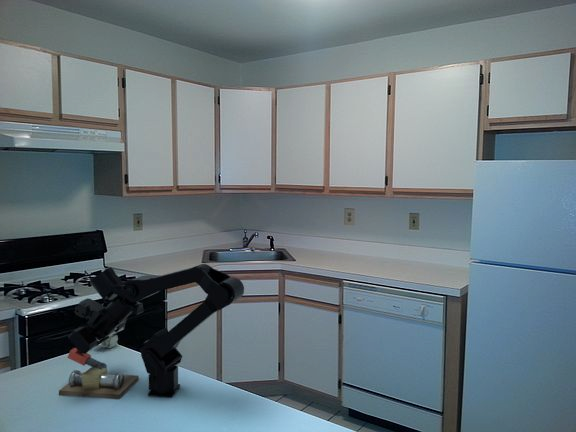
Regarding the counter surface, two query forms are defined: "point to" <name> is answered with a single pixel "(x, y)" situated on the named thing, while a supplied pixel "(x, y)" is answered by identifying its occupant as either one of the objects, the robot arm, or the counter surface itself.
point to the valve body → (96, 379)
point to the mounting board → (103, 391)
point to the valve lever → (85, 359)
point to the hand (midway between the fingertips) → (78, 350)
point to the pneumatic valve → (112, 339)
